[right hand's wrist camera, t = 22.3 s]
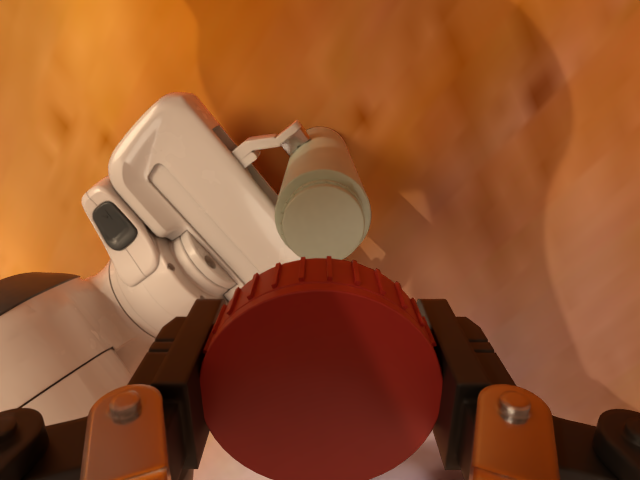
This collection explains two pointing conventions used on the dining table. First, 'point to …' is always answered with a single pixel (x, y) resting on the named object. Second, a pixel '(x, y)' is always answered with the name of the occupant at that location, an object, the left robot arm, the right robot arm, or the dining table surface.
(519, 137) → the dining table surface
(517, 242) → the dining table surface
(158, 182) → the left robot arm
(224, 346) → the lid
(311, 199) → the jar
